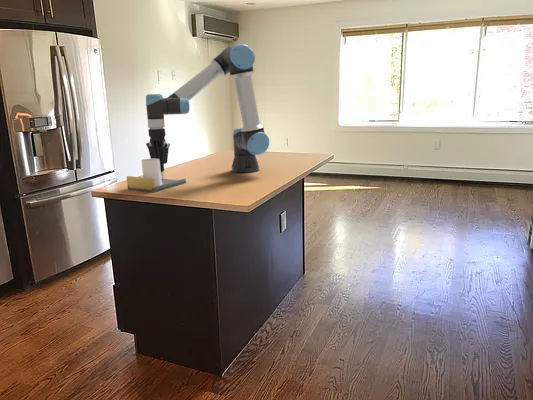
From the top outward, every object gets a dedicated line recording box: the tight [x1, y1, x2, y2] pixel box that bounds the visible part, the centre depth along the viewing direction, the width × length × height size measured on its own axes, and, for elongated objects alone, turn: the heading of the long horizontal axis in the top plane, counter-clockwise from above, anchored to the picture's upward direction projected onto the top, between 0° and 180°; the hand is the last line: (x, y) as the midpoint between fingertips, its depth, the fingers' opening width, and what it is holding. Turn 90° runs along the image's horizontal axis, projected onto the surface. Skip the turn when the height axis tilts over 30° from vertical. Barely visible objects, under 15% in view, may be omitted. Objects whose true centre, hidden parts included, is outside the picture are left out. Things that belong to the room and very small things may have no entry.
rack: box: [126, 175, 187, 193], centre depth 203 cm, size 16×22×6 cm
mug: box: [141, 158, 163, 187], centre depth 200 cm, size 12×8×12 cm
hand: (160, 178), depth 205 cm, fingers closed
